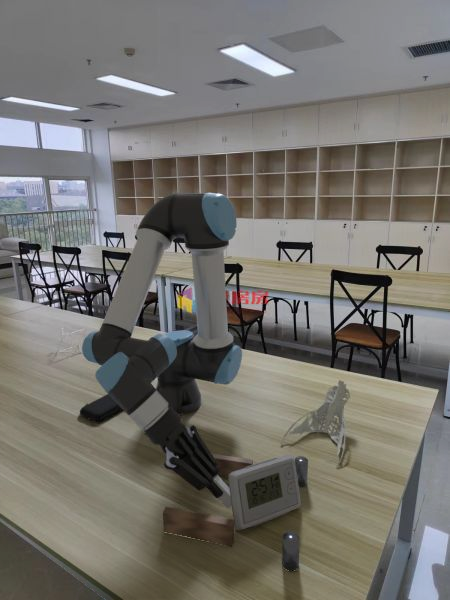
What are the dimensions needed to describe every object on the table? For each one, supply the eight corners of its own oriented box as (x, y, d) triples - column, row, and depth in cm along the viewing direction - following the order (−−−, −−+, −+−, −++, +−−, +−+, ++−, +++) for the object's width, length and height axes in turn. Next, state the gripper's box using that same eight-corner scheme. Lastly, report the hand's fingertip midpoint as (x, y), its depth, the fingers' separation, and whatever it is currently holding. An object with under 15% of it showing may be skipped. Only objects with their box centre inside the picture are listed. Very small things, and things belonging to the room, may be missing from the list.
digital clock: (233, 535, 80) (235, 486, 78) (220, 504, 88) (221, 459, 86) (309, 519, 84) (312, 473, 82) (290, 491, 93) (292, 448, 91)
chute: (163, 533, 82) (162, 512, 81) (196, 468, 100) (195, 450, 99) (232, 547, 78) (232, 525, 77) (252, 478, 97) (252, 459, 96)
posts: (281, 569, 74) (281, 542, 72) (294, 477, 97) (295, 455, 95) (298, 573, 73) (299, 545, 71) (307, 479, 96) (308, 457, 95)
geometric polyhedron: (67, 344, 183) (64, 325, 180) (91, 345, 182) (88, 325, 179) (53, 355, 171) (50, 335, 169) (78, 356, 170) (75, 335, 167)
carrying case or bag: (112, 396, 137) (75, 415, 126) (112, 387, 137) (74, 406, 125) (135, 404, 132) (98, 426, 120) (134, 396, 131) (97, 417, 119)
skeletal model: (278, 447, 109) (308, 363, 119) (288, 457, 115) (316, 376, 126) (337, 468, 100) (364, 375, 110) (345, 478, 106) (369, 389, 117)
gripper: (158, 411, 92) (228, 490, 92) (129, 445, 80) (210, 535, 80) (180, 393, 90) (252, 474, 90) (154, 425, 77) (238, 519, 78)
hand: (232, 503), depth 85 cm, fingers closed
